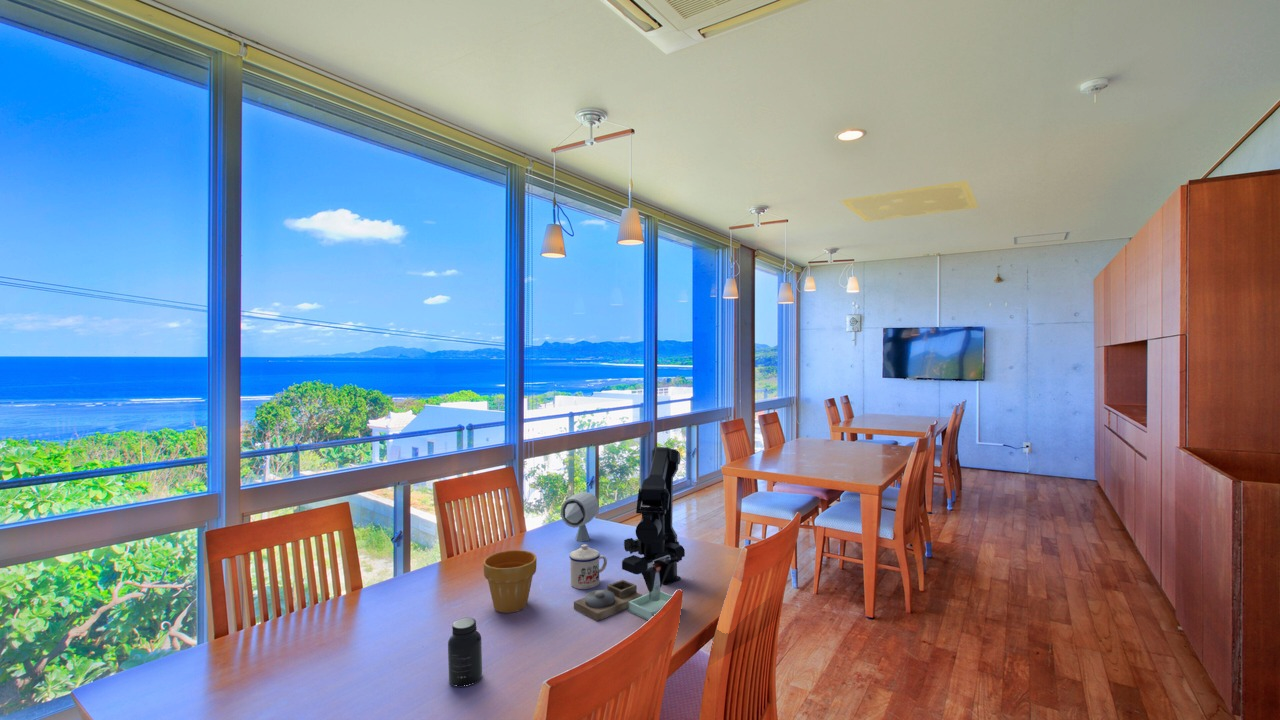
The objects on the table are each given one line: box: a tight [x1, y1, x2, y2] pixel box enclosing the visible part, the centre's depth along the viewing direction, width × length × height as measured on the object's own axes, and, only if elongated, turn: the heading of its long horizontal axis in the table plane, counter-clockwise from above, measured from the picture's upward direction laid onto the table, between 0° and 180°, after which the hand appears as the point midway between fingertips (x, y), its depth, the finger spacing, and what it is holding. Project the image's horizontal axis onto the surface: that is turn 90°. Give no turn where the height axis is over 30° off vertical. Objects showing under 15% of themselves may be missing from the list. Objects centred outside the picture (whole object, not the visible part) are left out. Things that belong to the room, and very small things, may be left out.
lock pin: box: [648, 563, 661, 601], centre depth 148 cm, size 4×4×9 cm
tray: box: [627, 590, 673, 621], centre depth 148 cm, size 11×9×2 cm
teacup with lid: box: [569, 543, 608, 590], centre depth 167 cm, size 12×9×12 cm
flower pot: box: [483, 549, 537, 614], centre depth 152 cm, size 14×14×13 cm
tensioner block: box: [573, 579, 643, 622], centre depth 151 cm, size 16×10×4 cm, turn 134°
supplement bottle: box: [447, 617, 483, 687], centre depth 117 cm, size 7×7×12 cm
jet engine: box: [560, 491, 600, 543], centre depth 205 cm, size 15×20×18 cm
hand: (654, 589), depth 148 cm, fingers closed on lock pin, 3 cm apart
